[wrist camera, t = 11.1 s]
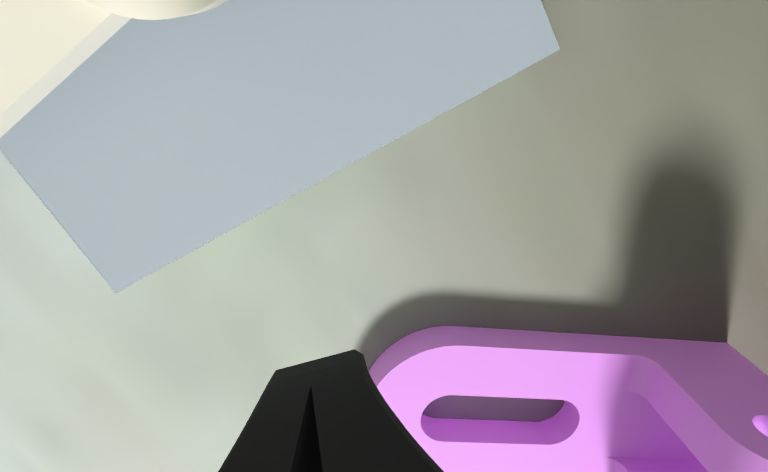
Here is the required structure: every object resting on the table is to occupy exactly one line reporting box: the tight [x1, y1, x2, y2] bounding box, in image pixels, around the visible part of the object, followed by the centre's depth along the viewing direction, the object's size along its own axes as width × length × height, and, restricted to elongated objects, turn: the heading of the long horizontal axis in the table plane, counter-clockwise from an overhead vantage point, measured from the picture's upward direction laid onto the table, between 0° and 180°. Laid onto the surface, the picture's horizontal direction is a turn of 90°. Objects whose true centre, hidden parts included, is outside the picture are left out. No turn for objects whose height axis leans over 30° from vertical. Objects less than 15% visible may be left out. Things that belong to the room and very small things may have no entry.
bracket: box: [369, 326, 768, 472], centre depth 19 cm, size 13×6×7 cm, turn 82°
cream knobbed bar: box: [0, 0, 229, 138], centre depth 12 cm, size 10×4×3 cm, turn 128°
